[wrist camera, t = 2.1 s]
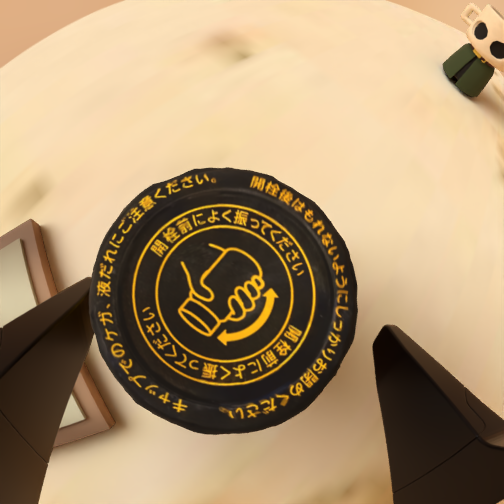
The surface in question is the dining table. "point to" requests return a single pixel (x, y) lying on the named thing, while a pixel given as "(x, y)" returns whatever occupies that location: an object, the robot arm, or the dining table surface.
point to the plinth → (27, 297)
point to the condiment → (223, 300)
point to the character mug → (478, 50)
